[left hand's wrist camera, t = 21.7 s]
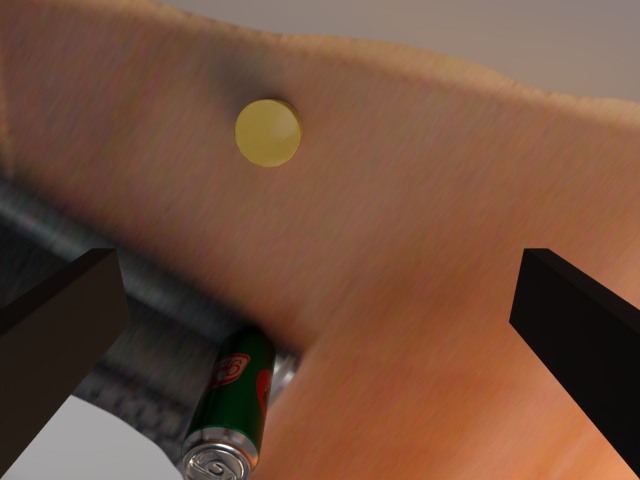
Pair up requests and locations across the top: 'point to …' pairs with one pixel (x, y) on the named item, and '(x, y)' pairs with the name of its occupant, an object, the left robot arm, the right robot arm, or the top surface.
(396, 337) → the top surface
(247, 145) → the tin
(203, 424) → the soda can
